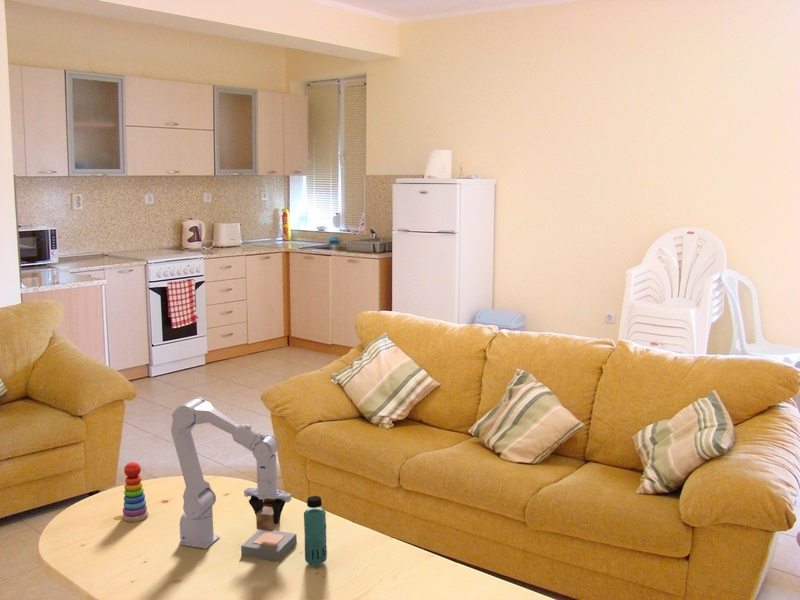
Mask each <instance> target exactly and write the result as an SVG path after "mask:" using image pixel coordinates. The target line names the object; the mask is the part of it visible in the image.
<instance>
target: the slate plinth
mask: <svg viewBox="0 0 800 600" xmlns="http://www.w3.org/2000/svg"><path fill="white" fill-rule="evenodd" d="M297 538H298V537H297V533H293V532H289V531H281V530H275V529H274V530H273V531H272V532H271V531H265V530H257V531H256V532H255V533H254V534H252V536H250V537H249V538H248V539H247V540H246V541H245V542H244V543H242V545H240V554H241V556H242V557H247V558H255V559H258V560H259V559H260V560H267V561H272V562H278V563H279V562H280V560H281V559H283V557H284V556H286V554H287V553H288V552H289V551H290V550H291V549H293V547H294V546H295V545H297Z"/></svg>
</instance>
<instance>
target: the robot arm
mask: <svg viewBox="0 0 800 600" xmlns="http://www.w3.org/2000/svg"><path fill="white" fill-rule="evenodd" d="M171 417H172V423H171V426H170V427H171V428H170V432H171V436H172V440H173V444H174V447H175V450H176V454H177V459H178V462H179V466H180V470H181V472H182V476H183V477H182V478H183V480H184V484H185V488H184V491H183V495H182V498H183V507H182V509H183V513H182V515H181V516H180V518H179V535H180V537H179V539H180V542H178V545H180V546H188V547H192V548H199V549H205V550H206V549H208V548H209V547H210V546H211V545H212V544H213V543H215V542H216V541H217V540H218V539H220V535H217V534H214V532H215V531H214V514H213V506H214V505H215V503H216V501H217V496H216V493H215V492H214V490H213V489H212V487H211V484H210V482H209V481H206V480H205V479H204V476H203V472H202V468H201V465H200V464H201V463H200V461H199V457H198V454H197V453H198V452H197V450H196V446H195V442H194V438H193V434H192V430H193V429H194V427H195V426H196V425H201V424H202V425H203V424H211V425H212V426H213V427H214V426H215V427H216V428H217V429H220V430H222V431H224V432H226V433H227V434H230V435H231V437H232V441H234V442H235V443H237V444H238V445H240V446H242V447H244V448H246V450H249V451H250V452H252V455H253V457H254V458H255V460H256V483H257V487H255V488H254V487H246V488H245V489H244V491H243V495H244V497H246V498H247V497H250V499H248V504H249V505H250V506H251V508H252V510H253V511H254V514H255V516H256V513H257V512H258V511H259V510H261V509H262V508H263V502H264V501H263V500H264V499H274V500H275V501H274V502H273V503H272V504H271V505H272V508H273V513H274V524H278V523H279V522H280V521H281V515H282V512H283V510H284V506H285V504H286V503H290V502H291V501H292V493H288V492H285V491H283V490H280V489H278V474H277V473H278V472H277V471H278V470H277V454H276V453H277V452H278V450H279V447H280V443H279V441H278V440H277V438H276V437H275V436H274V435H272V434H265V433H263V432H262V433H261V432H259V431H257V430H256V429H254V428H252V425H251V424H249V423H247V424H246V423H241V424H239V423H237V422H235V421H234V420H232V419H231V418H229V417H228V416H227V415H225V414H224V413H222V412H220V411H219V410H218V409H217V408H215V407H214V406H213V405H212V403H211V402H210V401H207V400H205V399H204V398H202V397H200V396H199V397H198V396H196V397H193V398H191V399H190V400H189V401H187V402H185V403H184V404H181V405H179V406H177V407H176V409H175V410H174V411H173V412H172V413H171ZM280 523H281V522H280Z"/></svg>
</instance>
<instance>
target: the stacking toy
mask: <svg viewBox="0 0 800 600" xmlns="http://www.w3.org/2000/svg"><path fill="white" fill-rule="evenodd" d="M123 471H124V474H125V477H126V478H125V480H124V482H125V484H124V491H123V493H124V497H123V501H124V502H123V508H122V519H123V520H124V521H125V522H128V523H135V522H136V523H137V522H140V521H143V520H145V519H146V518H148V516H149V511H148V510H147V509H148V506H147V500H146V495H145V493H144V491H145V490H144V488H143V483H142V477H141V476H140V473H141V471H142V468H141V465H140V464H139V463H138V462H136V461H131V462H128V463H127V464H126V465H125V466H124V469H123Z"/></svg>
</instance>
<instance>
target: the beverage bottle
mask: <svg viewBox="0 0 800 600" xmlns="http://www.w3.org/2000/svg"><path fill="white" fill-rule="evenodd" d="M306 506H307V507H308V508H307V509H306V510H304V512H303V522H304V523H303V524H304V525H303V527H304V530H303V531H304V544H303V545H304V560H305V563H307V564H309V565H313V566H314V565H321V564H323V563H325V562H326V560H327V559H328V551H327V550H328V548H327V538H328V537H327V519H326V518H327V517H326V515H327V514H326V510H325V509H324V508H323V507H321V506H323V503H322V498H321V496H318V495H311V496H309V497H307V502H306Z"/></svg>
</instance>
